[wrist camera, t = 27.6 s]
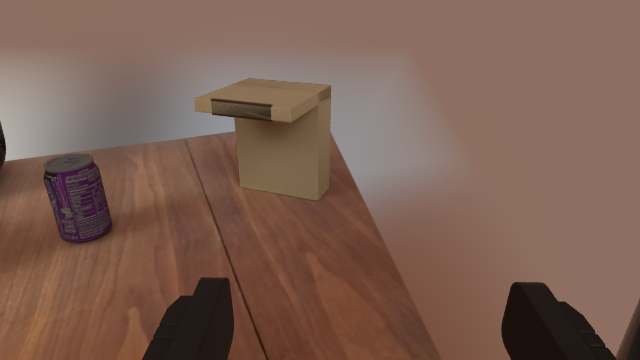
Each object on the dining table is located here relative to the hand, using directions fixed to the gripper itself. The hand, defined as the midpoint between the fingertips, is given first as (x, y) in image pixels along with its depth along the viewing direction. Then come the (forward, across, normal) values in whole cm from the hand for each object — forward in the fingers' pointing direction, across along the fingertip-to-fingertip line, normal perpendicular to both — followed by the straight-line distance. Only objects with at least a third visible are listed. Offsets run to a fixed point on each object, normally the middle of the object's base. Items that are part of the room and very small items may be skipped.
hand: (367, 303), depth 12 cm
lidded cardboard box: (+59, +10, +27) cm, 65 cm away
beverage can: (+45, +38, +27) cm, 65 cm away
